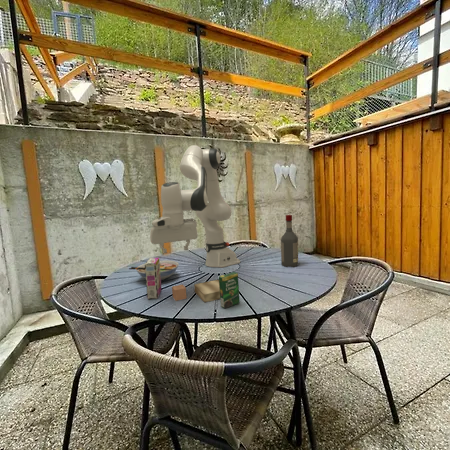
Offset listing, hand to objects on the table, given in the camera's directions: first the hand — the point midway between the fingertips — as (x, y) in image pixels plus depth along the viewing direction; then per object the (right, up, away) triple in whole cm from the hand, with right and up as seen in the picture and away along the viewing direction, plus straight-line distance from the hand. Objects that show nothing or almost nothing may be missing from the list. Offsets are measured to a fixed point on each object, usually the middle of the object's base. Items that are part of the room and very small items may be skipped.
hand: (175, 251), depth 116 cm
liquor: (+61, -13, +43) cm, 75 cm away
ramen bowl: (-15, -18, +30) cm, 39 cm away
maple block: (+16, -20, +5) cm, 26 cm away
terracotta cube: (+1, -21, +3) cm, 21 cm away
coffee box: (+24, -21, -8) cm, 33 cm away
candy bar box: (-11, -21, +8) cm, 25 cm away
